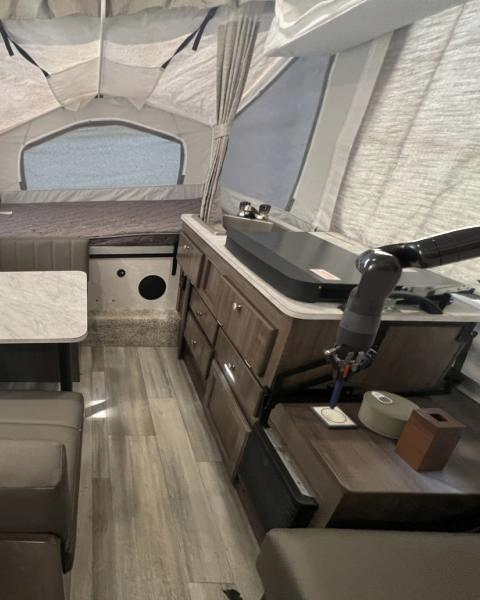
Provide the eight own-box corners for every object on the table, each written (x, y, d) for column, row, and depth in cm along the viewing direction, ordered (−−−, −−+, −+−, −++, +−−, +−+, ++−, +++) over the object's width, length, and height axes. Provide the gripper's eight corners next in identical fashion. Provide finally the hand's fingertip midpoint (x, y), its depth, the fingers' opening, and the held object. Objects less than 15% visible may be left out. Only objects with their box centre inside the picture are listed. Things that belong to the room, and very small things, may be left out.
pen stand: (417, 450, 80) (439, 407, 75) (442, 471, 75) (467, 426, 69) (393, 450, 80) (413, 408, 75) (416, 471, 75) (438, 427, 70)
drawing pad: (336, 407, 95) (337, 405, 95) (357, 428, 88) (358, 425, 87) (309, 408, 96) (310, 406, 95) (328, 428, 88) (328, 426, 88)
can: (385, 443, 83) (394, 423, 80) (346, 411, 94) (352, 392, 91) (427, 437, 83) (437, 418, 81) (383, 406, 95) (390, 388, 92)
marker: (334, 406, 92) (348, 364, 86) (335, 410, 91) (350, 367, 85) (328, 405, 93) (341, 363, 87) (329, 409, 92) (342, 366, 86)
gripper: (341, 334, 78) (324, 389, 85) (399, 331, 77) (377, 388, 84) (321, 320, 85) (307, 373, 92) (373, 318, 84) (355, 371, 91)
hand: (340, 380), depth 88 cm, fingers closed on marker, 1 cm apart
